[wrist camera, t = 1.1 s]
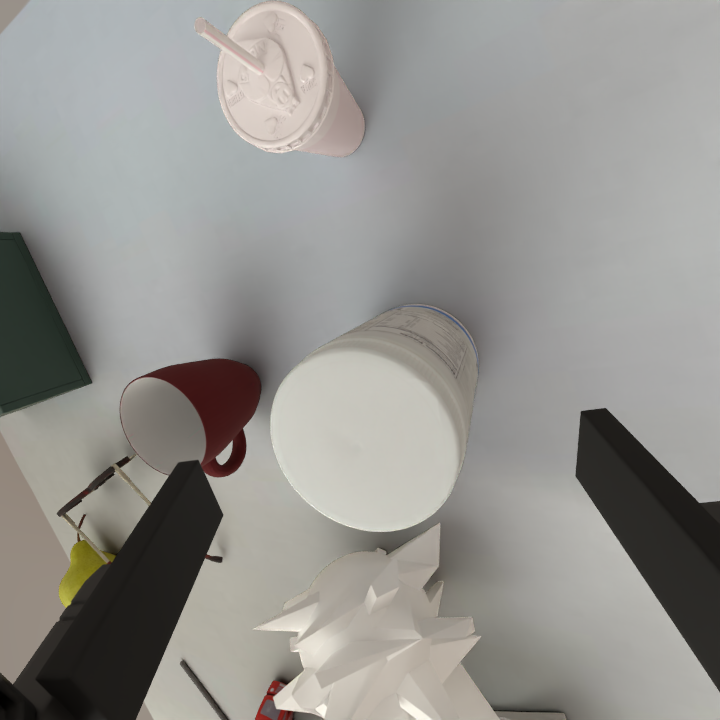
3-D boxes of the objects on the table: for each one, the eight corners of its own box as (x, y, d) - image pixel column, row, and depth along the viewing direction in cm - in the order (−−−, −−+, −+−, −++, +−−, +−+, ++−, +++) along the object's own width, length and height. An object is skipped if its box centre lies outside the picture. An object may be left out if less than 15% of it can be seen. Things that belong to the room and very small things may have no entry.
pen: (180, 664, 54) (239, 744, 54) (183, 660, 54) (243, 739, 55) (178, 663, 54) (237, 742, 55) (182, 659, 55) (240, 737, 55)
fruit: (59, 636, 45) (24, 539, 47) (88, 618, 51) (55, 534, 54) (121, 598, 47) (84, 507, 49) (141, 586, 53) (108, 506, 56)
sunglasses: (146, 442, 44) (107, 467, 40) (236, 548, 45) (209, 585, 41) (91, 488, 50) (52, 515, 45) (173, 581, 51) (143, 616, 47)
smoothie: (340, 54, 27) (197, -114, 14) (402, 124, 27) (313, 17, 14) (285, 133, 30) (123, 51, 17) (340, 196, 29) (219, 162, 17)
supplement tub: (446, 436, 32) (407, 574, 19) (345, 384, 34) (244, 476, 20) (504, 332, 28) (507, 413, 15) (388, 279, 30) (297, 309, 17)
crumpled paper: (251, 551, 25) (341, 909, 16) (450, 486, 34) (581, 694, 25) (224, 638, 37) (266, 867, 28) (375, 574, 46) (443, 734, 37)
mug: (303, 435, 37) (239, 499, 28) (239, 450, 40) (162, 511, 31) (259, 331, 35) (176, 362, 26) (196, 355, 38) (102, 390, 29)
